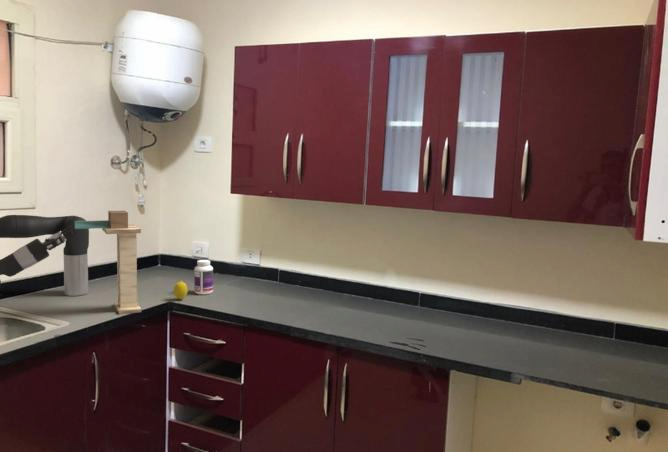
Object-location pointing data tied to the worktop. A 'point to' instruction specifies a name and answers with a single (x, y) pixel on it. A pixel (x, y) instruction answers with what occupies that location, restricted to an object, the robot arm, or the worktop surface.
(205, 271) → the pill bottle
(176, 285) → the lemon
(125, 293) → the stand
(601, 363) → the worktop surface
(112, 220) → the mallet
